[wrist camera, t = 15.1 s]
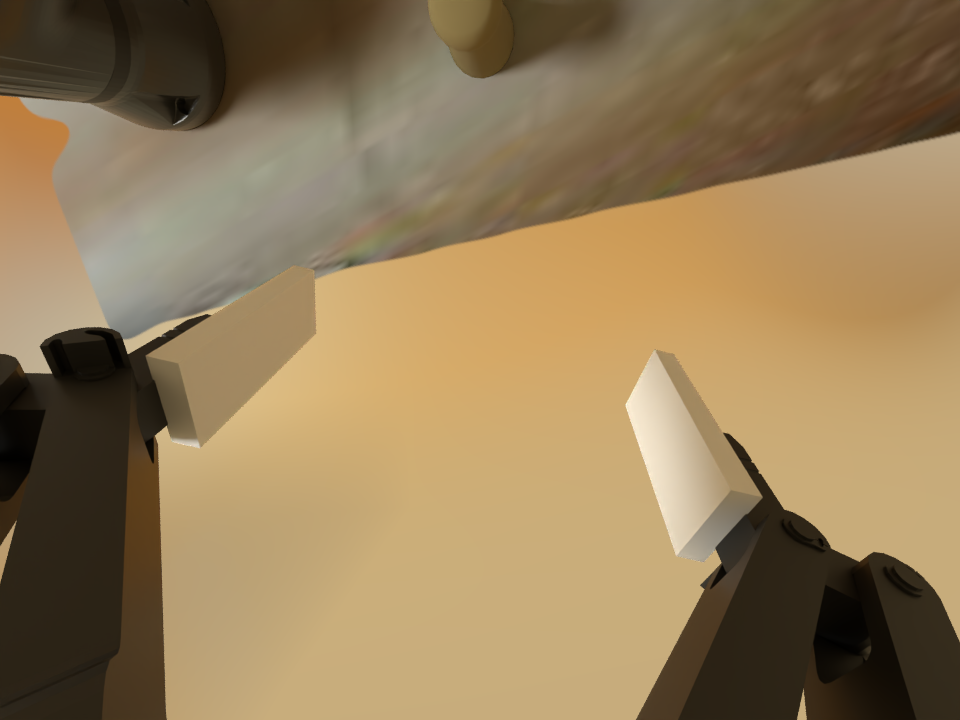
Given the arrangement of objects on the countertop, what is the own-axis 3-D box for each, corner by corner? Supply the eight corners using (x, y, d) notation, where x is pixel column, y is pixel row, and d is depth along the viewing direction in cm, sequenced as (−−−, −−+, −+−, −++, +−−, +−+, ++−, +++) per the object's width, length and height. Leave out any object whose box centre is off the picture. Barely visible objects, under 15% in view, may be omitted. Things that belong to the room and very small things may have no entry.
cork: (522, 4, 34) (518, -52, 24) (503, 86, 37) (492, 64, 27) (455, -16, 34) (425, -81, 24) (441, 67, 37) (409, 39, 27)
